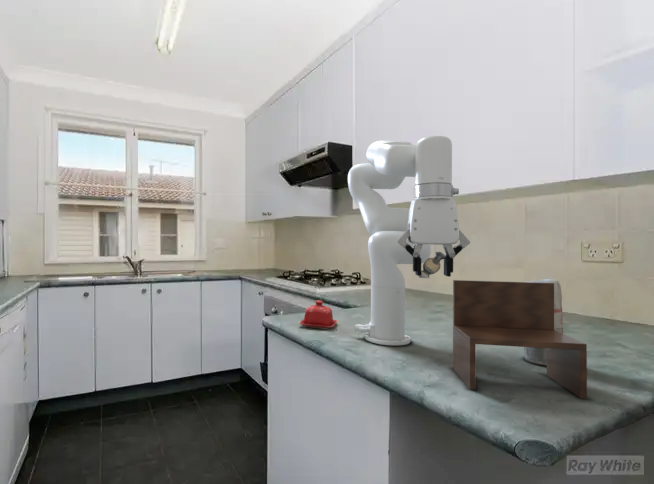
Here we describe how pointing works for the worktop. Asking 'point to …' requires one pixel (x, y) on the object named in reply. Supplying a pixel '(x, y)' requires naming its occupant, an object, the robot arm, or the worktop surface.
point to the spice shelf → (514, 328)
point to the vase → (432, 265)
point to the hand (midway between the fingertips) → (432, 274)
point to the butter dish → (318, 316)
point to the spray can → (541, 353)
